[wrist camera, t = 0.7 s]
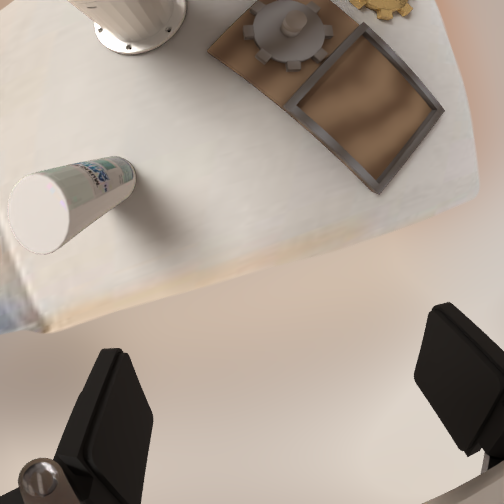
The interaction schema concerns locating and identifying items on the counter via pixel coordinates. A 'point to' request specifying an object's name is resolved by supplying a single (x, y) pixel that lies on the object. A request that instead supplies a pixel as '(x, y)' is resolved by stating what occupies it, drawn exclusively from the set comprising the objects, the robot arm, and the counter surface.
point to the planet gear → (384, 7)
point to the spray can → (66, 201)
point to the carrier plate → (333, 82)
